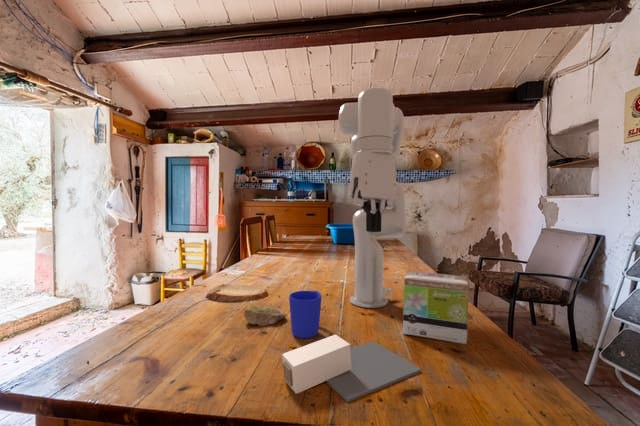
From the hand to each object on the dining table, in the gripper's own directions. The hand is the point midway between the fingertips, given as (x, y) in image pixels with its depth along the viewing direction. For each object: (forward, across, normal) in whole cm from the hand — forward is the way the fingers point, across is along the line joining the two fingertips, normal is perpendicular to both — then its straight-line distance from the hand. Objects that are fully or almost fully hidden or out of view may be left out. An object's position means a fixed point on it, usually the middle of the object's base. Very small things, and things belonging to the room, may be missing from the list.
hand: (373, 231), depth 66 cm
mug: (+27, +7, -17) cm, 33 cm away
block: (+24, +10, +2) cm, 25 cm away
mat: (+27, +6, +4) cm, 28 cm away
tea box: (+27, -21, 0) cm, 35 cm away
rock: (+28, +13, -30) cm, 43 cm away
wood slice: (+28, +14, -57) cm, 65 cm away
